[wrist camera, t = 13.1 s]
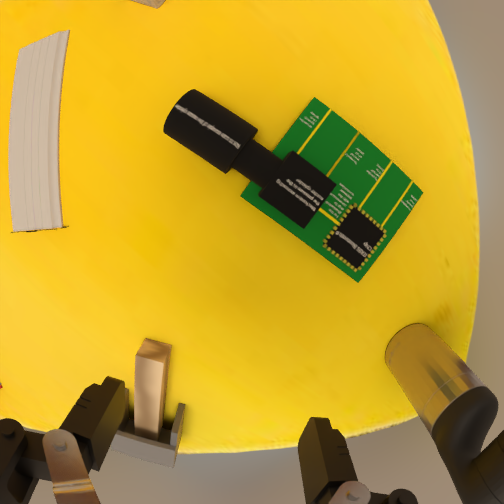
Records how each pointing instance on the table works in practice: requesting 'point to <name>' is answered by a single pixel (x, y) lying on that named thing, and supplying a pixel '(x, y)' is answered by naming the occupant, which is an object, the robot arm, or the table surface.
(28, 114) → the baseboard molding
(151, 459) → the end cap
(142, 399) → the slat
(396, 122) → the table surface
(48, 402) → the table surface
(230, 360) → the table surface
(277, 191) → the electronic board model
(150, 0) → the light bulb box
